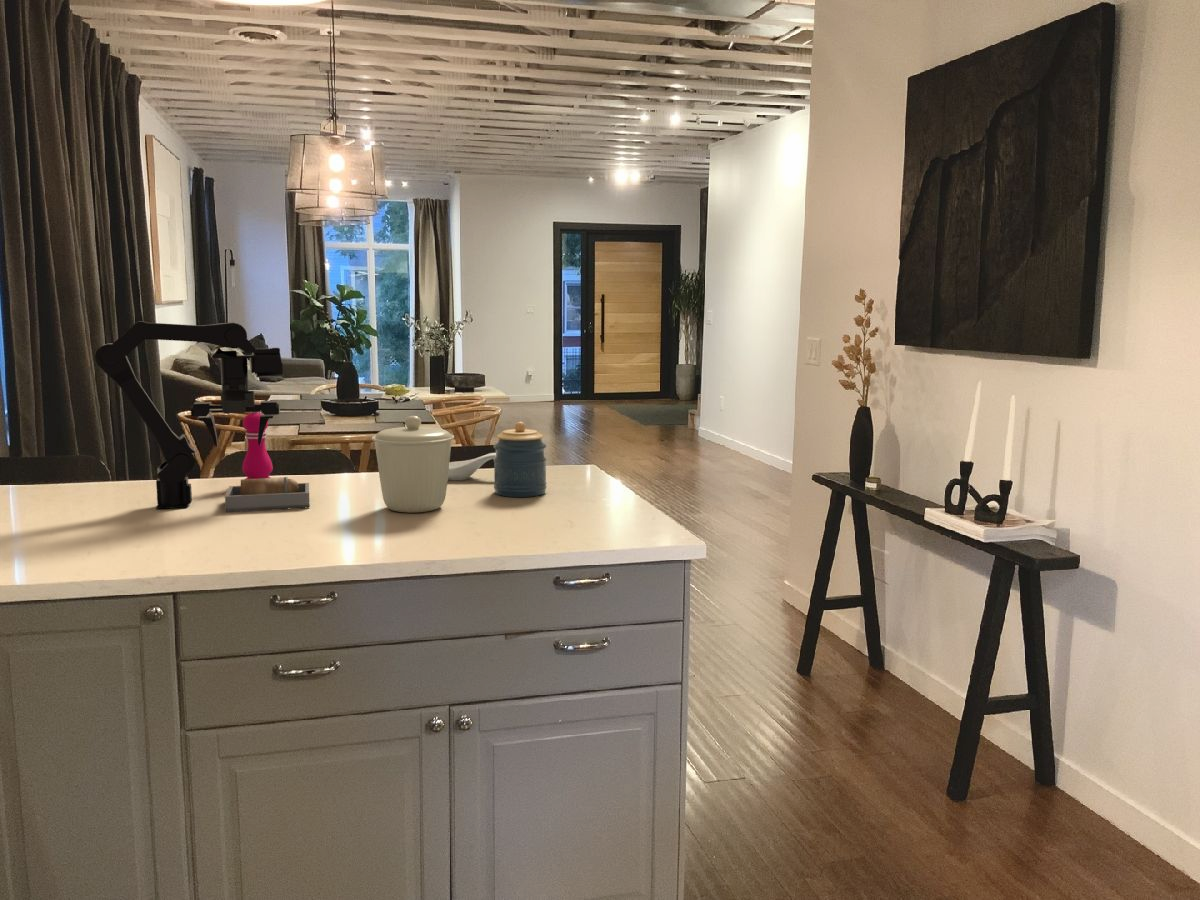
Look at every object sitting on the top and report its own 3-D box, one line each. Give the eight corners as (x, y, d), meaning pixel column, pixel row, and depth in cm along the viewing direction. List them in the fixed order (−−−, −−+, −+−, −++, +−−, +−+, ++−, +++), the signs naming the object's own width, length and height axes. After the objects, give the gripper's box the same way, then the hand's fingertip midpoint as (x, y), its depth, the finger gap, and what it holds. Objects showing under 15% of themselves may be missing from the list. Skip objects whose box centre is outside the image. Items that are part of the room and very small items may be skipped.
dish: (225, 512, 206) (225, 496, 206) (230, 501, 218) (229, 486, 218) (309, 508, 211) (309, 492, 211) (309, 497, 223) (308, 482, 223)
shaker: (240, 475, 214) (298, 472, 218) (241, 486, 218) (298, 483, 222) (240, 493, 212) (298, 490, 216) (242, 504, 216) (299, 501, 220)
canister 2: (550, 488, 237) (550, 419, 235) (542, 498, 225) (542, 425, 222) (499, 487, 239) (499, 418, 236) (488, 497, 226) (488, 424, 223)
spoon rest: (427, 482, 245) (427, 455, 244) (438, 474, 257) (437, 448, 256) (517, 484, 244) (517, 457, 243) (524, 476, 255) (524, 450, 254)
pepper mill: (267, 488, 234) (263, 408, 231) (238, 487, 234) (234, 407, 231) (277, 482, 241) (274, 405, 238) (249, 482, 242) (246, 404, 239)
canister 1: (437, 519, 202) (436, 421, 199) (359, 514, 205) (356, 419, 202) (466, 502, 219) (465, 412, 216) (393, 498, 223) (391, 410, 220)
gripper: (186, 381, 203) (190, 452, 206) (277, 380, 209) (279, 449, 211) (191, 377, 214) (195, 445, 216) (278, 376, 219) (281, 442, 222)
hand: (238, 445), depth 216 cm, fingers open, 9 cm apart
